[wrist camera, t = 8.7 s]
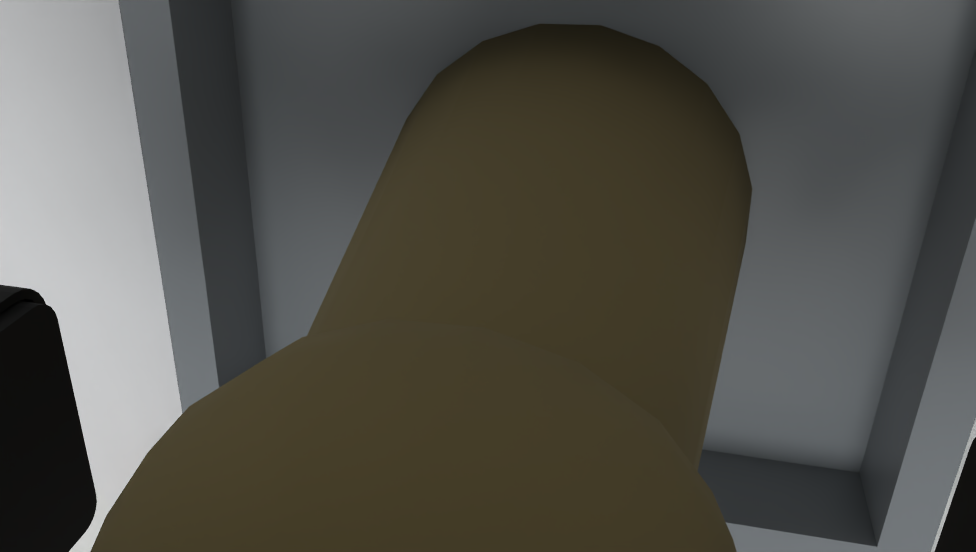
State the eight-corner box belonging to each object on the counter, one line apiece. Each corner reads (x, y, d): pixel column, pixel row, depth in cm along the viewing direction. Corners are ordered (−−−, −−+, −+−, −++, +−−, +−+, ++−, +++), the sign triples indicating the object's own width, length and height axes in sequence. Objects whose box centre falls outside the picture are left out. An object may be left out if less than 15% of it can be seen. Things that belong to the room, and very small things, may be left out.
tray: (186, -152, 15) (95, -146, 12) (1070, -116, 12) (1149, -99, 10) (248, 395, 19) (190, 469, 17) (890, 492, 17) (917, 591, 15)
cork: (832, 221, 14) (1099, 1024, 5) (560, 415, 17) (390, 1173, 8) (571, -66, 13) (253, 249, 4) (325, 190, 16) (-225, 751, 6)
